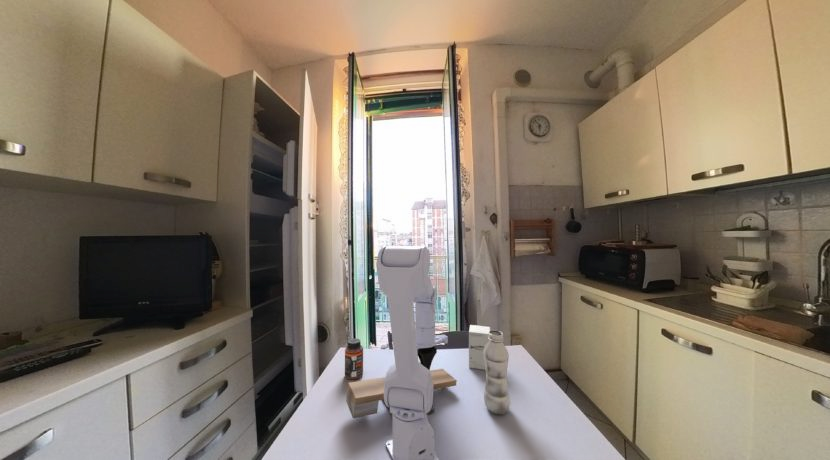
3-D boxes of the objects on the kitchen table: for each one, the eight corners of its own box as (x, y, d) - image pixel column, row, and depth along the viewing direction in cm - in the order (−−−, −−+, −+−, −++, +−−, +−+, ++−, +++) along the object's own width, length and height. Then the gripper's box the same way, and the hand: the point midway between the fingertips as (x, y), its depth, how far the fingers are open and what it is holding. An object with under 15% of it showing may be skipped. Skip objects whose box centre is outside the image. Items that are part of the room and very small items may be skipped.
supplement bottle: (358, 381, 77) (358, 345, 77) (341, 379, 78) (341, 343, 79) (366, 371, 83) (366, 337, 83) (349, 369, 84) (349, 336, 84)
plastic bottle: (493, 421, 61) (492, 339, 61) (479, 403, 67) (478, 329, 68) (515, 415, 62) (514, 336, 63) (499, 398, 69) (498, 327, 69)
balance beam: (454, 396, 71) (456, 380, 72) (353, 418, 57) (355, 398, 57) (441, 383, 77) (442, 368, 78) (346, 400, 63) (348, 382, 64)
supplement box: (468, 368, 85) (467, 331, 85) (469, 358, 92) (469, 324, 92) (490, 371, 83) (490, 333, 83) (490, 360, 90) (490, 326, 90)
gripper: (438, 316, 78) (438, 360, 78) (396, 325, 71) (396, 372, 71) (451, 324, 72) (452, 370, 71) (407, 333, 65) (407, 385, 65)
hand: (425, 372), depth 71 cm, fingers closed
